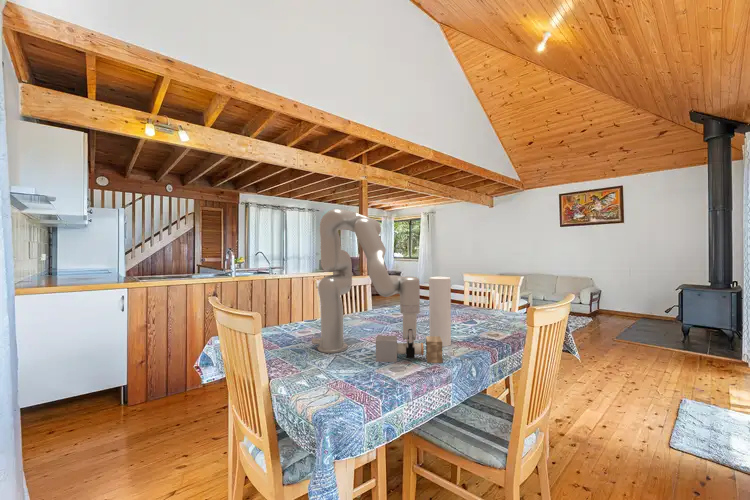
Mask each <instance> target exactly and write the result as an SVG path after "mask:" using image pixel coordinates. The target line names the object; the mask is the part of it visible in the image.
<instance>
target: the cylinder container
mask: <svg viewBox="0 0 750 500" xmlns="http://www.w3.org/2000/svg"><path fill="white" fill-rule="evenodd" d="M451 281H452V280H451V277H450V276H448V277H447V276H443V275H442V276H440V275H439V276H438V275H437V276H431V277H429V278H428V282H429V283H428V288H429V289H428V290H429V291H428V294H429V295H428V296H429V297H428V299H429V300H428V301H429V305H428V306H429V308H428V309H429V313H428V314H429V315H428V316H429V317H428V318H429V336H440V337H441V340H442V348H444V347H449V346H451V344H452V319H451V318H452V317H451V316H452V312H451V311H452V308H451V307H452V299H451V297H452V295H451V292H452V291H451V290H452V288H451V287H452V285H451V283H452V282H451Z"/></svg>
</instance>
